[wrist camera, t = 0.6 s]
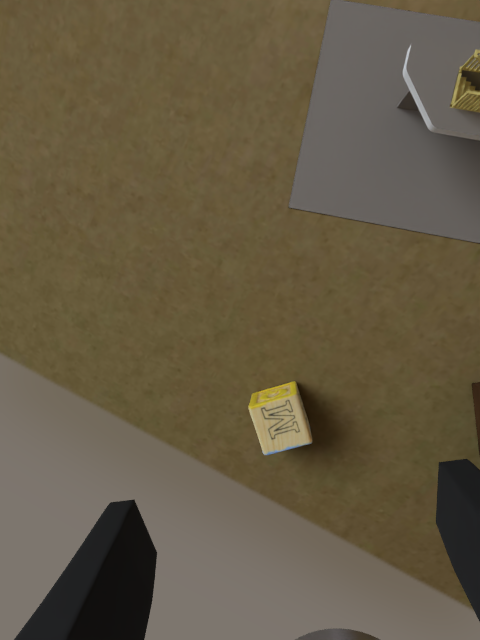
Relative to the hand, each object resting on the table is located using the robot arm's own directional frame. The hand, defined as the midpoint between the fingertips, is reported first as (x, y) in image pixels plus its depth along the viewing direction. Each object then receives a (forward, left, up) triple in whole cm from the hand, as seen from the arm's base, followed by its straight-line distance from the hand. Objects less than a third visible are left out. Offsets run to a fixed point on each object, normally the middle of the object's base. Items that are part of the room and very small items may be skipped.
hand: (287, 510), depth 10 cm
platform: (+12, -13, -17) cm, 24 cm away
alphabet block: (-3, 0, -17) cm, 17 cm away
